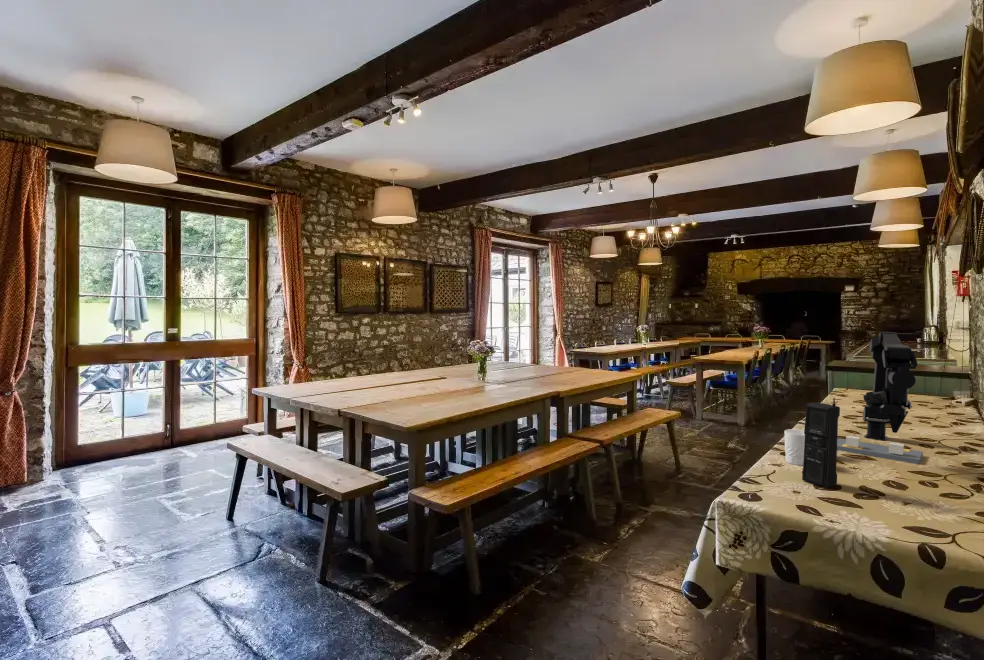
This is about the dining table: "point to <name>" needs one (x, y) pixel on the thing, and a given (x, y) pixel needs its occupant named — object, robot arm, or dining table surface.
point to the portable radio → (821, 444)
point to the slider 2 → (896, 448)
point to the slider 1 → (852, 441)
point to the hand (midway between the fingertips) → (894, 432)
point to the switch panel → (880, 451)
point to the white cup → (794, 446)
